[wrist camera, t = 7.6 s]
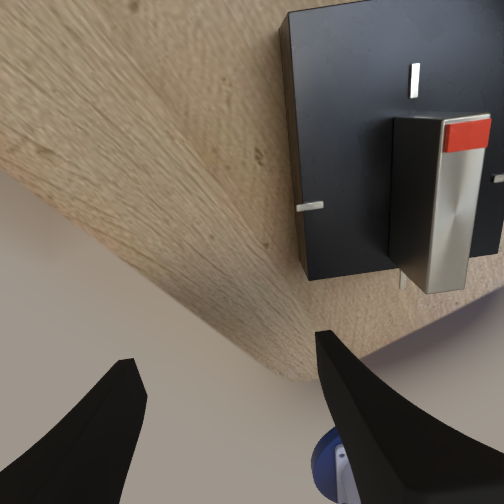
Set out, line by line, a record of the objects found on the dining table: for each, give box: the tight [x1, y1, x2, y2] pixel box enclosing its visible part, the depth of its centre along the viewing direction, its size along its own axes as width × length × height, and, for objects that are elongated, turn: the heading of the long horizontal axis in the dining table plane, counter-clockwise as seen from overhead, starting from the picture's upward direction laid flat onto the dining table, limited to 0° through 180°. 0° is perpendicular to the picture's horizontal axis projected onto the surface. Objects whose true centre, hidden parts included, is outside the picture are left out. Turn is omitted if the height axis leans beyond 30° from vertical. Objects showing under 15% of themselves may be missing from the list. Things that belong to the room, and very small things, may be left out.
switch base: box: [279, 0, 504, 290], centre depth 18 cm, size 14×12×3 cm
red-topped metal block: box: [389, 112, 492, 294], centre depth 15 cm, size 8×2×4 cm, turn 7°
